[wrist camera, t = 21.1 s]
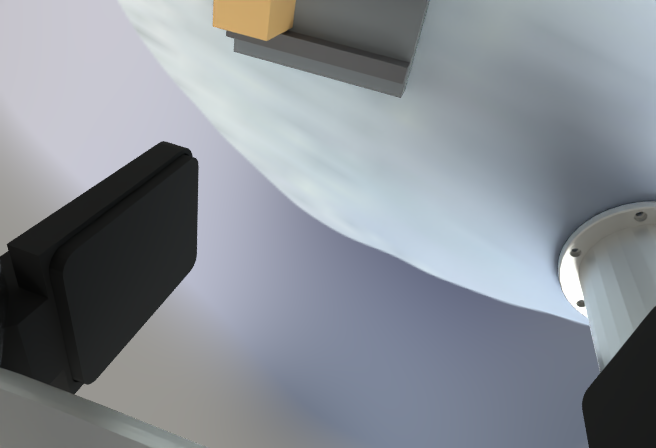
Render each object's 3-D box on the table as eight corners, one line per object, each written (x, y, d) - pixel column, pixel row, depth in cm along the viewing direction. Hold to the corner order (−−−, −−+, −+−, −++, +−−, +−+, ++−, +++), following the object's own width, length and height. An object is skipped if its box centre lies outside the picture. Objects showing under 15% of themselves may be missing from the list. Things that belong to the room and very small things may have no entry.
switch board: (443, -51, 32) (438, -49, 30) (404, 90, 38) (397, 103, 35) (254, -95, 34) (232, -96, 32) (244, 46, 40) (225, 55, 37)
